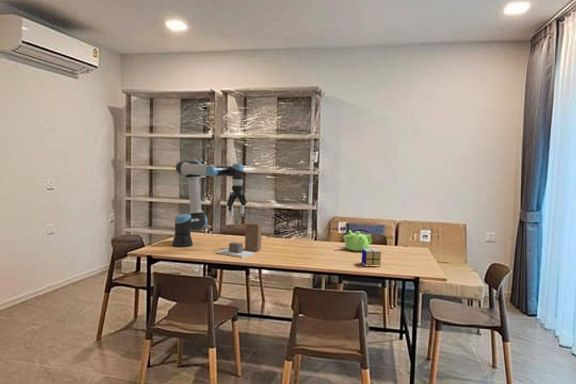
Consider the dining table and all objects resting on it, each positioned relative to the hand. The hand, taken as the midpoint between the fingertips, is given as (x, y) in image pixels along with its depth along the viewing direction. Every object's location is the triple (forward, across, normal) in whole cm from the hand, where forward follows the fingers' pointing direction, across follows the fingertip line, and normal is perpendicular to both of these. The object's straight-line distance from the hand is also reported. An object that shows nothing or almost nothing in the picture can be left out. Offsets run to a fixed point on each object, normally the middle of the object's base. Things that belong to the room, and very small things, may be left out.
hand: (236, 214), depth 311 cm
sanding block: (+25, -7, -5) cm, 27 cm away
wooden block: (+27, +12, -7) cm, 30 cm away
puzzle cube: (+27, +23, -94) cm, 100 cm away
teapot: (+27, +66, -67) cm, 98 cm away
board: (+27, -7, -5) cm, 28 cm away
